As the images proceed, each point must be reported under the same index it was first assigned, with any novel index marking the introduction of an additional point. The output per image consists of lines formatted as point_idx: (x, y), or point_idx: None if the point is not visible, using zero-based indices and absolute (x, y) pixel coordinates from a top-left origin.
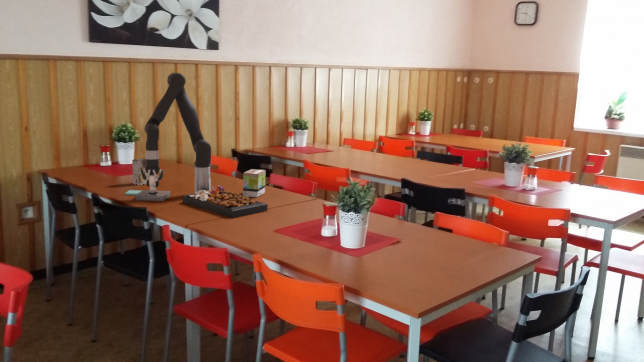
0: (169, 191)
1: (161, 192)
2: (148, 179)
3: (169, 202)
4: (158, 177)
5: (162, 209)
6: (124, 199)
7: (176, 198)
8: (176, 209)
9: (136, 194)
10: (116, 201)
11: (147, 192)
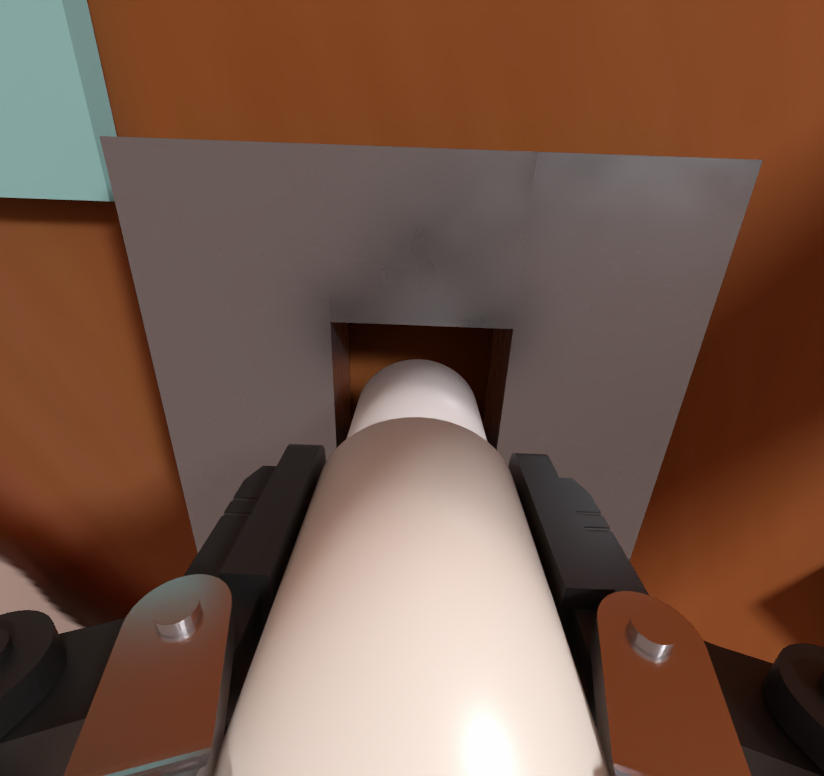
0: (745, 205)
1: (570, 346)
2: None
3: (669, 567)
4: (725, 763)
5: None
6: (73, 483)
7: (787, 358)
8: None
9: (54, 197)
10: (53, 572)
11: (301, 378)
